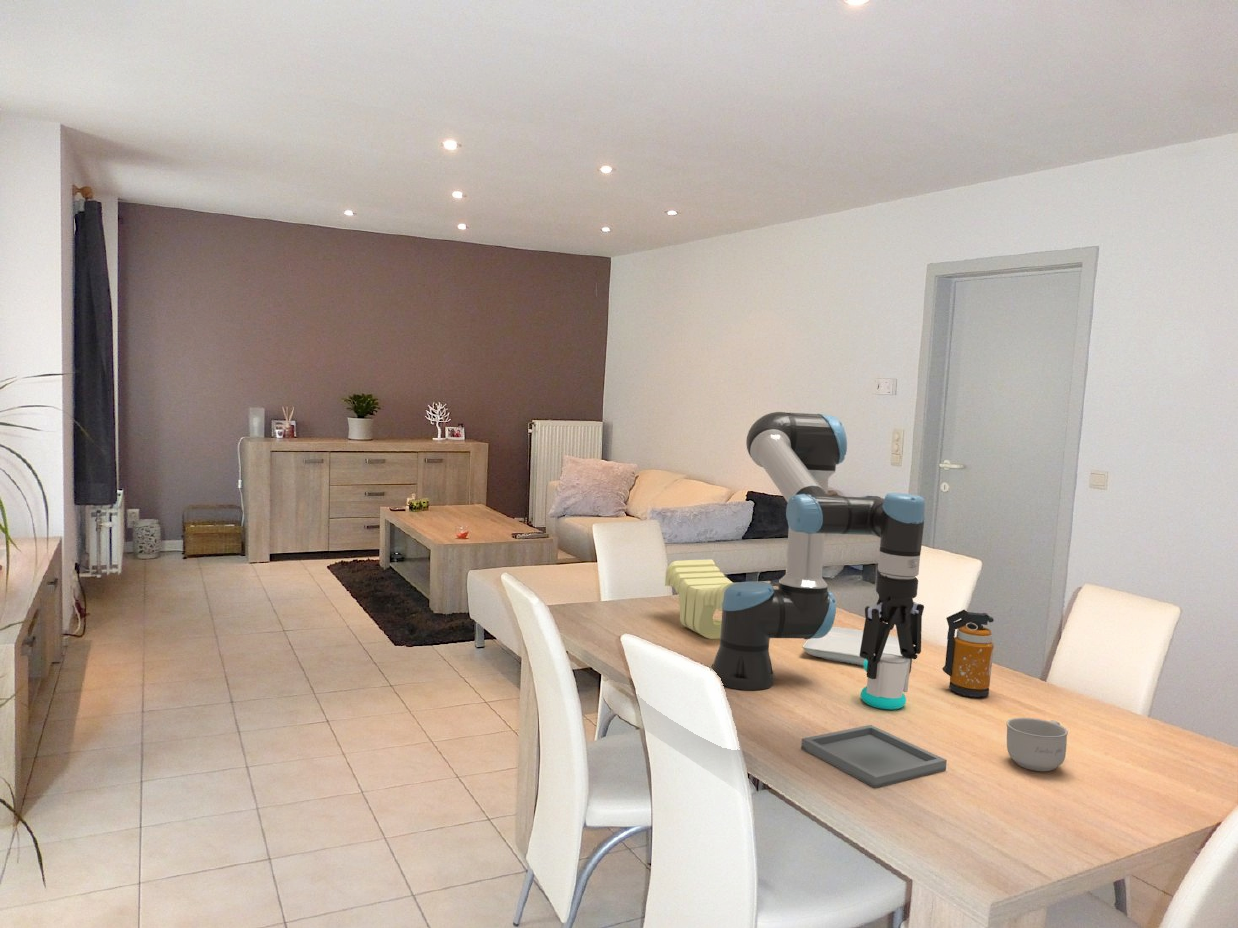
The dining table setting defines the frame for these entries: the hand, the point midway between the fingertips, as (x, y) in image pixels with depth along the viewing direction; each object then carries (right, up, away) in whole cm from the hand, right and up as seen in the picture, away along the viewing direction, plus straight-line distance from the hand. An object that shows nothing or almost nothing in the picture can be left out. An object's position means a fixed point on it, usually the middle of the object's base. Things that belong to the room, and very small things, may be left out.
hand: (887, 692), depth 174 cm
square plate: (+14, -8, +72) cm, 74 cm away
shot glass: (0, 0, 0) cm, 0 cm away
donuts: (+9, -11, +32) cm, 35 cm away
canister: (+32, -11, +44) cm, 56 cm away
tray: (-3, -13, 0) cm, 13 cm away
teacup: (+30, -15, +3) cm, 34 cm away
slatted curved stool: (-25, -4, +85) cm, 89 cm away
